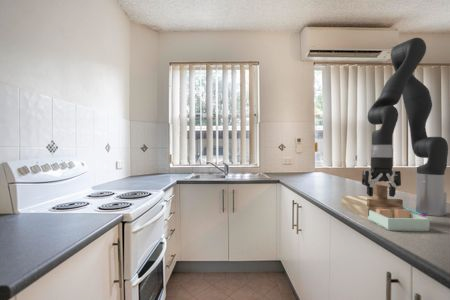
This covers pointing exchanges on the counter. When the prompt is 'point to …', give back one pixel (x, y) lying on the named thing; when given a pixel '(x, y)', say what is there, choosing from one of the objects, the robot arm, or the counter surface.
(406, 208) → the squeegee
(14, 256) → the counter surface
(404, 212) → the tile
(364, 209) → the wooden board
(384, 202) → the wooden t-shaped block
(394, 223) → the box
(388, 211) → the tile
